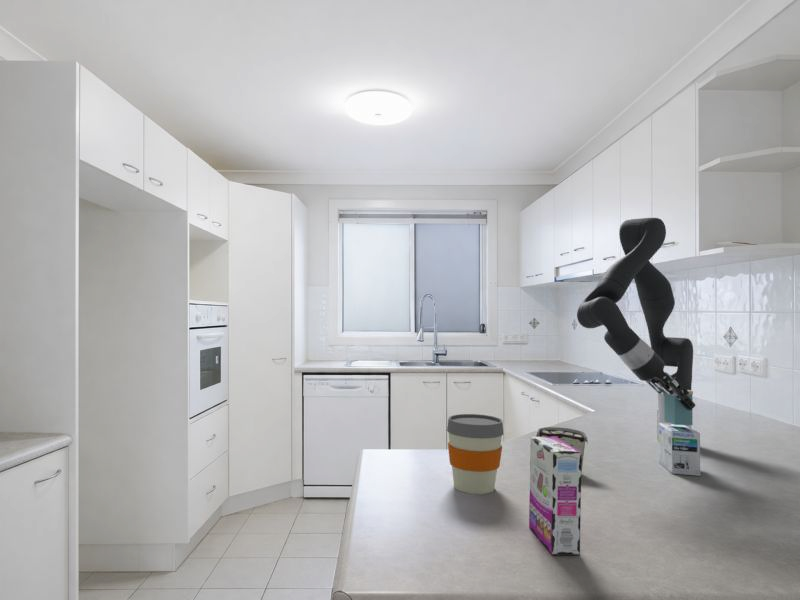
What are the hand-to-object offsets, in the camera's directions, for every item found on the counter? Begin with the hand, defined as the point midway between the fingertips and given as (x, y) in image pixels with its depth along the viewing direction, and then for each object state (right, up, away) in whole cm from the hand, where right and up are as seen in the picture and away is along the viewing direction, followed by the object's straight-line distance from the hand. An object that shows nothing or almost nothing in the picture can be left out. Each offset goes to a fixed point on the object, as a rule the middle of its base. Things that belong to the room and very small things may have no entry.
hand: (685, 405), depth 127 cm
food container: (-33, -16, -3) cm, 37 cm away
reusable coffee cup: (-58, -14, -18) cm, 62 cm away
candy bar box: (-48, -14, -44) cm, 66 cm away
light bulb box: (-2, -16, -1) cm, 17 cm away
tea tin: (-2, -4, 0) cm, 5 cm away
